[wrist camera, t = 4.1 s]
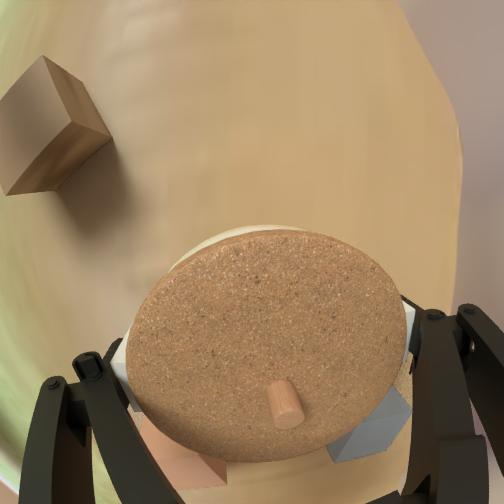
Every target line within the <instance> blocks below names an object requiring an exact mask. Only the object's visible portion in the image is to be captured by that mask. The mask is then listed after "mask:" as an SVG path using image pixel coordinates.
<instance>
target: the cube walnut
mask: <svg viewBox="0 0 504 504" xmlns="http://www.w3.org/2000/svg"><path fill="white" fill-rule="evenodd" d="M112 138H113V137H112V136H111V134H110V132H109V130H108V129H107V127H106V125H105V123H104V122H103V120H102V118H101V116H100V114H99V113H98V111H97V109H96V107H95V105H94V104H93V102H92V100H91V98H90V96H89V94H88V92H87V91H86V89H85V87H84V85H83V83H82V82H81V81H80V80H78V79H77V78H76V77H74V76H73V75H71V74H70V73H68V72H67V71H66V70H64V69H63V68H61V67H60V66H58V65H57V64H55V63H54V62H52V61H51V60H49V59H48V58H46V57H45V56H43V55H42V56H41V57H39V58H38V59H37V60H36V61H35V62H34V63H33V64H32V65H31V66H30V67H29V68H28V69H27V70H26V72H25V73H24V74H23V75H22V76H21V77H20V78H19V79H18V80H17V81H16V82H15V84H14V85H13V86H12V87H11V88H10V89H9V90H8V92H7V93H6V94H5V95H4V97H3V98H2V99H1V100H0V183H1V186H2V188H3V191H4V193H5V196H9V195H17V194H25V193H35V192H45V191H55V190H56V189H57V188H58V187H59V186H60V185H61V184H62V183H63V182H64V181H65V180H66V179H67V178H68V177H69V176H70V175H71V174H72V173H73V172H75V171H76V170H77V169H78V168H79V167H80V166H81V165H82V164H83V163H84V162H85V161H86V160H87V159H89V158H90V157H91V156H92V155H93V154H94V153H95V152H97V151H98V150H99V149H100V148H101V147H102V146H104V145H105V144H106V143H107V142H108V141H110V140H111V139H112Z"/></svg>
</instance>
